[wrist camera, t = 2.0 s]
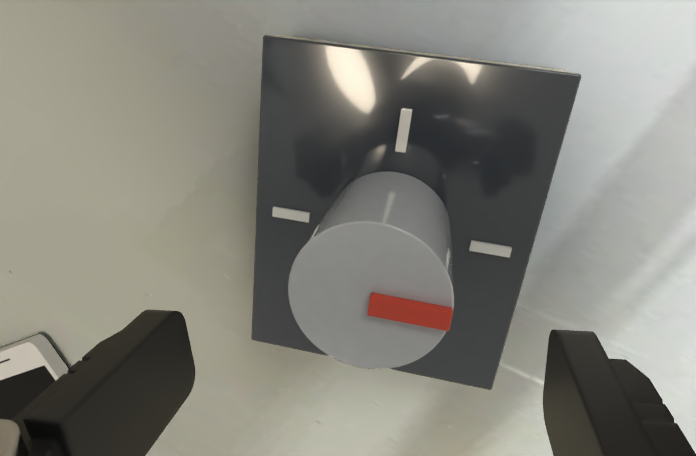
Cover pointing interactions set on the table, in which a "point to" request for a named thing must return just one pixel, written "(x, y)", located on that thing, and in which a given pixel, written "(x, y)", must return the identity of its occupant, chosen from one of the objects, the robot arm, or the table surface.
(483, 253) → the dark grey flat block
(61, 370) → the smartphone
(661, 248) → the table surface
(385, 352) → the rotary knob
